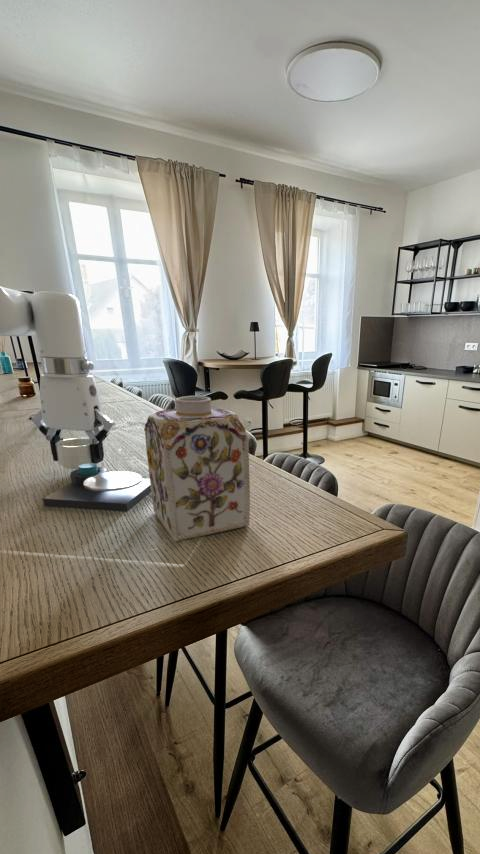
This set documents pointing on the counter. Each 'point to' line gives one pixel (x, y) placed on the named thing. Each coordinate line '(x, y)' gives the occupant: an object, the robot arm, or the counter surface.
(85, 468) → the tare button
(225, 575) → the counter surface
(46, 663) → the counter surface
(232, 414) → the decorative jar
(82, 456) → the bowl
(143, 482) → the scale
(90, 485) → the scale pan
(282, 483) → the counter surface
